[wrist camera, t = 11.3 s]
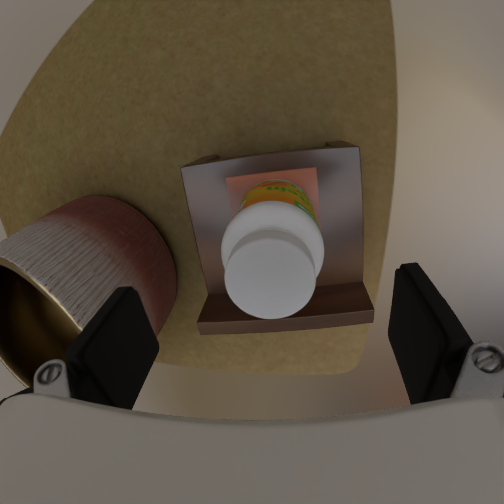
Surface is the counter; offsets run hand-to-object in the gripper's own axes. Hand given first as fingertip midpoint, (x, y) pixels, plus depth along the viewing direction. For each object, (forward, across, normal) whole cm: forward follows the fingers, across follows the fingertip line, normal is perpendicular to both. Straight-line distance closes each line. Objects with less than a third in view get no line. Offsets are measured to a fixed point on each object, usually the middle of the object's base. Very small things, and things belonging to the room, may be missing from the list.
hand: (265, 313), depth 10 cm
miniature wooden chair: (+19, 0, +2) cm, 19 cm away
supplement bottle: (+13, 0, +1) cm, 13 cm away
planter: (+19, +20, +6) cm, 28 cm away
